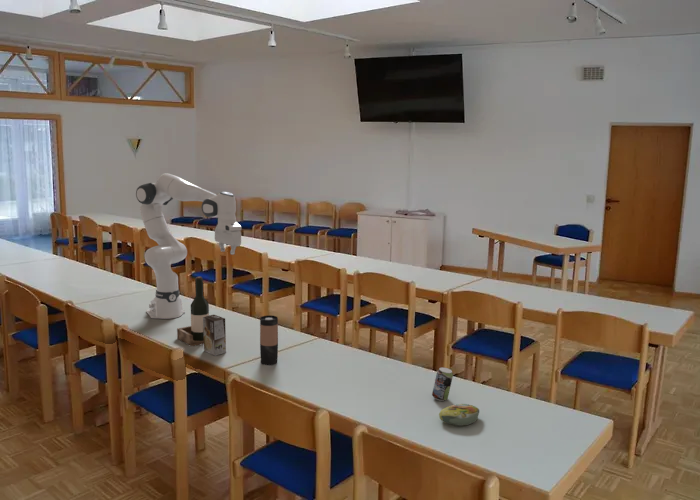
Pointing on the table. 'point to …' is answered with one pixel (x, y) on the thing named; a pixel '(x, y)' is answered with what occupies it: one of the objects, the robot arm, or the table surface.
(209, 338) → the coffee box
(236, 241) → the robot arm
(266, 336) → the travel mug
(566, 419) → the table surface
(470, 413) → the cell model
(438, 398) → the beverage can
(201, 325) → the wine bottle
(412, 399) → the table surface
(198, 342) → the tray
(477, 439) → the table surface
